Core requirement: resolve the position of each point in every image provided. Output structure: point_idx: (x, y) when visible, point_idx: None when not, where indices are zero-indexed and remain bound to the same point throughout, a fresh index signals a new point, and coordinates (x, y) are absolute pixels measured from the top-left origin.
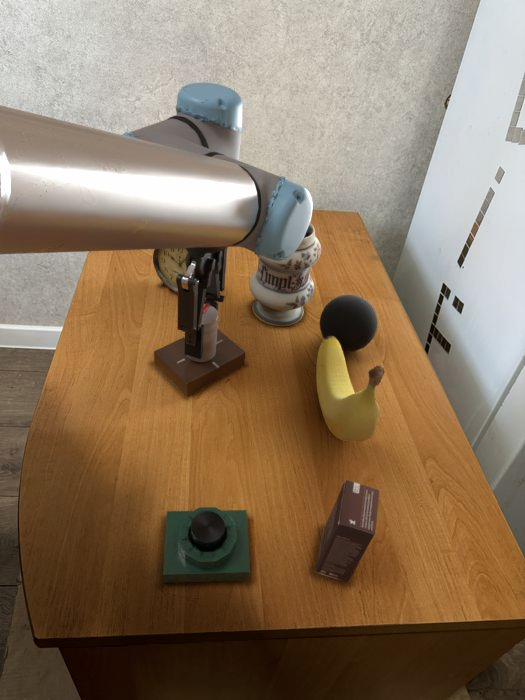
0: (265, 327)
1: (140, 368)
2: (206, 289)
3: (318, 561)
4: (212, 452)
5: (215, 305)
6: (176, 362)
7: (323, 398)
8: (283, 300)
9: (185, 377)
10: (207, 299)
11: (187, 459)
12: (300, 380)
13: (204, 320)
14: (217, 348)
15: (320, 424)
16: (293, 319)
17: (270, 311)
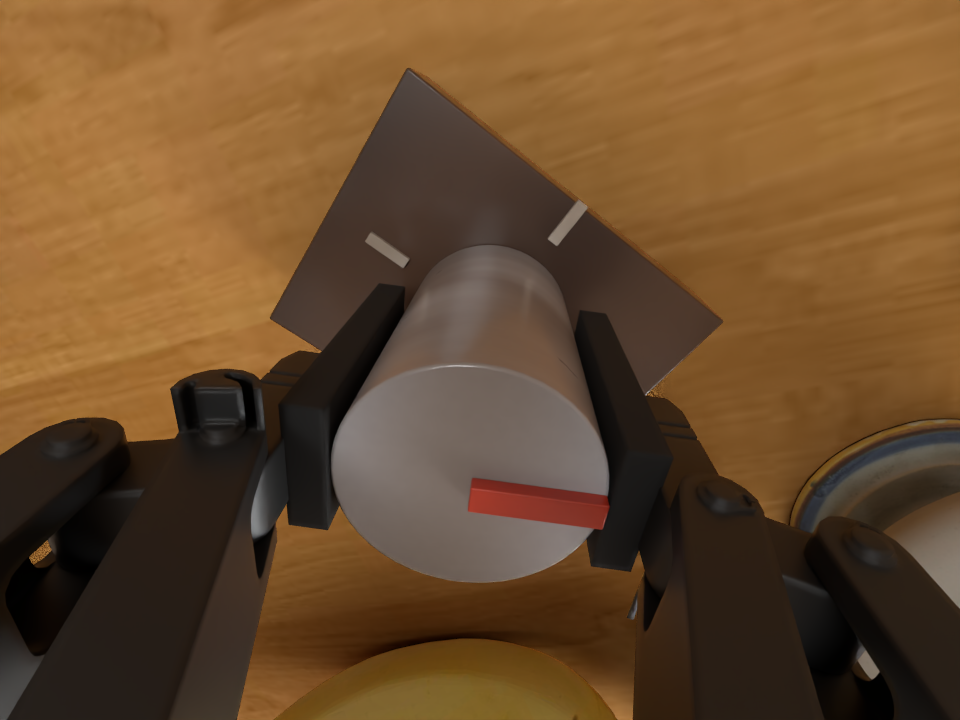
0: (780, 480)
1: (373, 7)
2: (669, 628)
3: None
4: (140, 422)
5: (598, 559)
6: (373, 229)
7: (378, 711)
8: (863, 668)
9: (298, 301)
10: (659, 505)
11: (72, 363)
12: (519, 591)
13: (391, 518)
14: None
15: (375, 634)
16: None
17: (872, 509)
